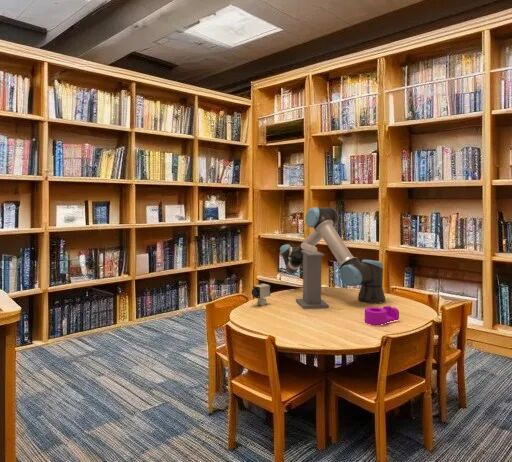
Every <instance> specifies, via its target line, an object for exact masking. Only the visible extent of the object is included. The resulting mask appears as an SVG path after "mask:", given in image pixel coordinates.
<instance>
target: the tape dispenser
mask: <svg viewBox="0 0 512 462" xmlns="http://www.w3.org/2000/svg"><path fill="white" fill-rule="evenodd" d="M398 319H399V320H400V310H399V309H398V308H397V307H393V306H391V305H385V306H384V307H377V306H375V307H374V306H371V307H369V306H368V307H365V308H364V319H363V320H364V321H365V322H364V323H365V324H366V323H367V324H366V325H368V324H371V325H370V326H373V325H381V324H385V323H387V322H390V321H394V320H398Z"/></svg>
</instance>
